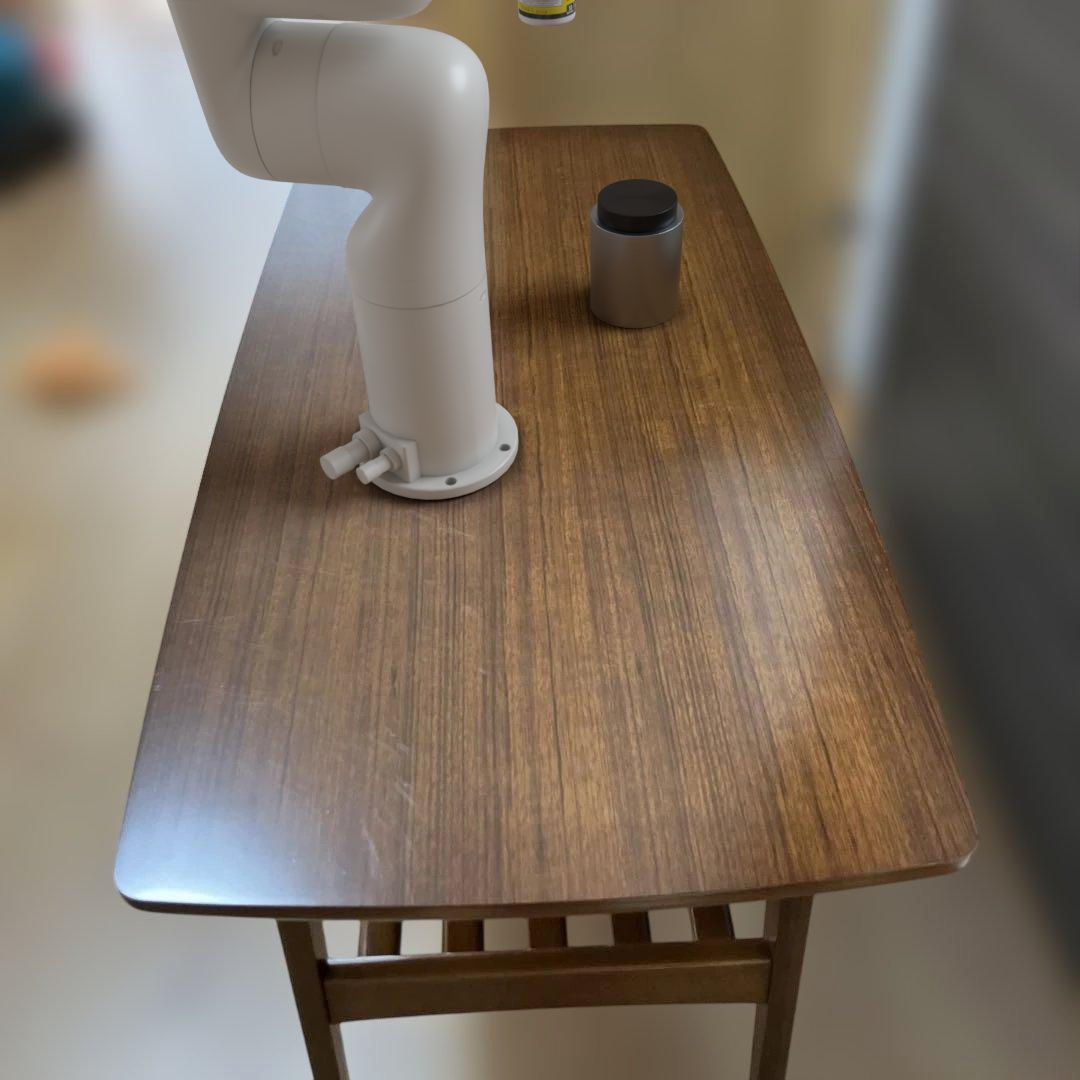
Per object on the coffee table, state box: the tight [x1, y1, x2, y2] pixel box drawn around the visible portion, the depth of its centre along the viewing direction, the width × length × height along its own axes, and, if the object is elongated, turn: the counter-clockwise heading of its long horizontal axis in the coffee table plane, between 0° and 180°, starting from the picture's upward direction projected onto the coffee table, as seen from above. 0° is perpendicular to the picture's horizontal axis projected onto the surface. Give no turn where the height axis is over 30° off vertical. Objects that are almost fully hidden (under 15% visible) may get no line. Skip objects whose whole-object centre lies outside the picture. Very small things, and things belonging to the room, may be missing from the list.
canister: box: [589, 178, 685, 329], centre depth 98 cm, size 8×8×10 cm
